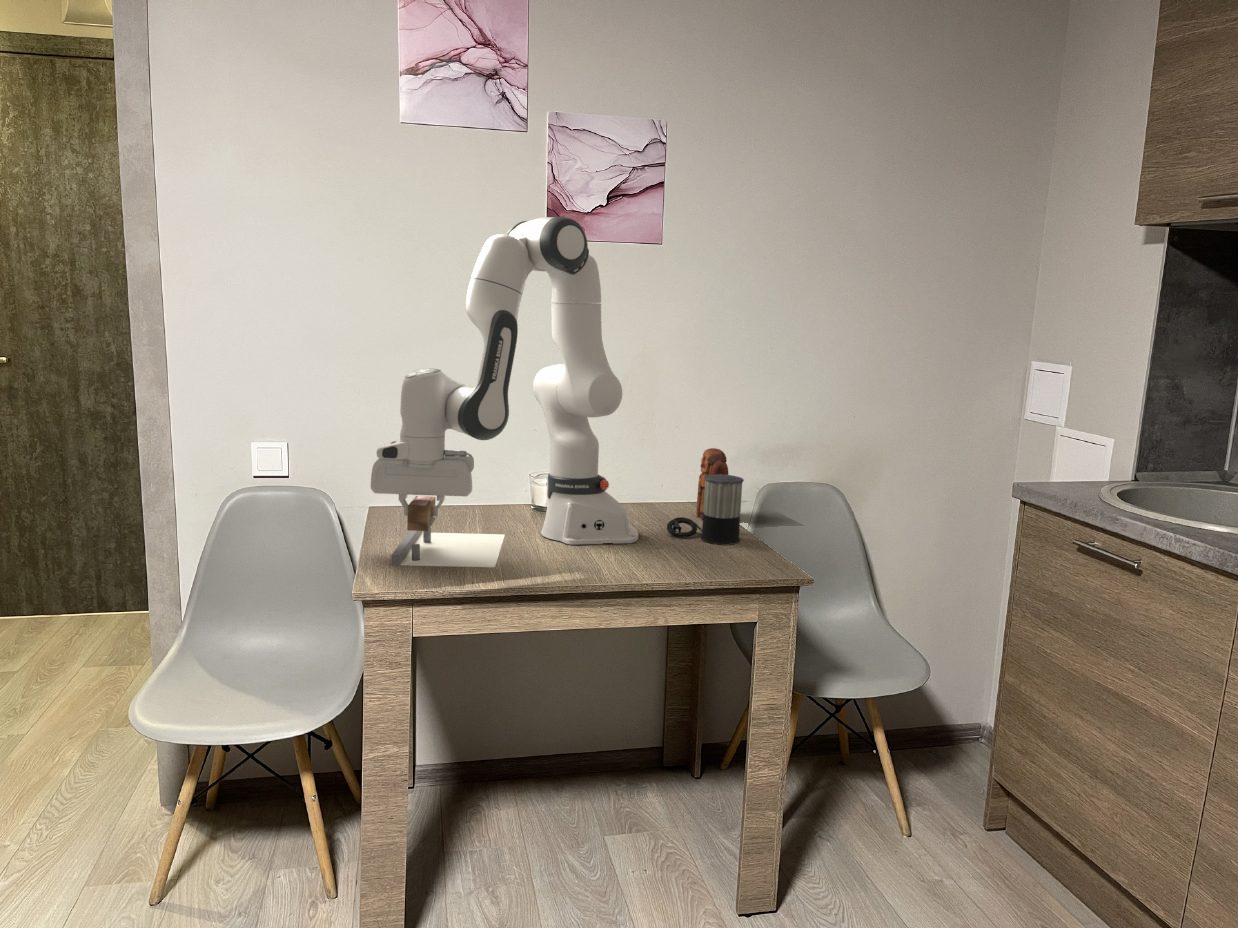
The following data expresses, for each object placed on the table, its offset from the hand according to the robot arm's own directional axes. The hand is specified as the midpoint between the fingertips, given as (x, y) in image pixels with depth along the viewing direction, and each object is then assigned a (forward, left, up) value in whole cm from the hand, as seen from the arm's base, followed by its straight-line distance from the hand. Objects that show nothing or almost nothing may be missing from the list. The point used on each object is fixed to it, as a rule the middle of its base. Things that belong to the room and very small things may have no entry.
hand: (421, 515), depth 184 cm
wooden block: (0, 0, -2) cm, 2 cm away
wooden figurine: (-66, -42, -9) cm, 79 cm away
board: (-6, -2, -9) cm, 11 cm away
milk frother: (-62, -21, -9) cm, 66 cm away
